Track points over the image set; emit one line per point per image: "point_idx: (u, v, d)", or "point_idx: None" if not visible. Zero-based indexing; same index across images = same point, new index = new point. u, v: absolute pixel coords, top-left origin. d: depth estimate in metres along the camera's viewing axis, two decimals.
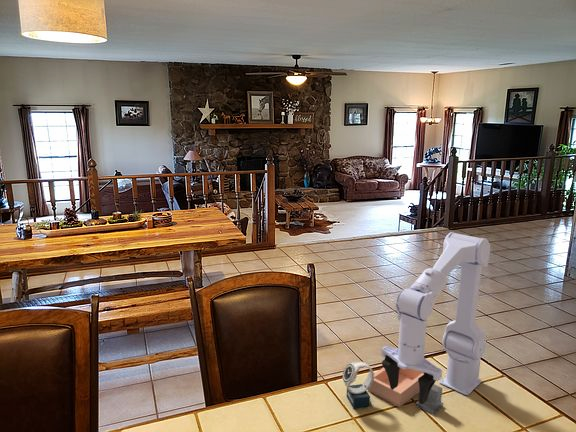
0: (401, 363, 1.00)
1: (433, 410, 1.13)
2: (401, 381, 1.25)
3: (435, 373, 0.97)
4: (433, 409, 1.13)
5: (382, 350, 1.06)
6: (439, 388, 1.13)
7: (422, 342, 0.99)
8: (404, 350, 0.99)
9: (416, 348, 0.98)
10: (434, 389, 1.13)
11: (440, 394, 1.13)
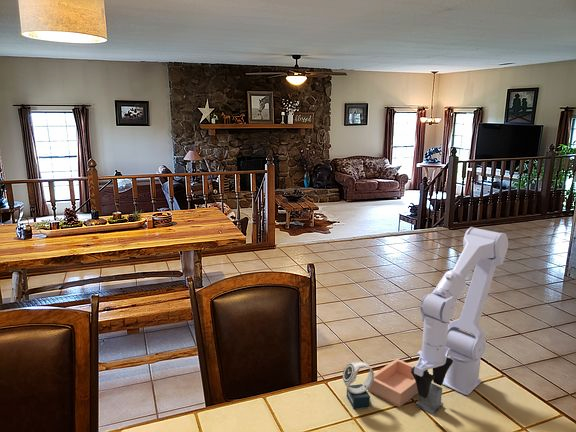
0: (422, 351, 1.15)
1: (433, 410, 1.13)
2: (401, 381, 1.25)
3: None
4: (433, 409, 1.13)
5: None
6: (439, 388, 1.13)
7: (444, 342, 1.09)
8: None
9: (423, 342, 1.11)
10: (434, 389, 1.13)
11: (440, 394, 1.13)
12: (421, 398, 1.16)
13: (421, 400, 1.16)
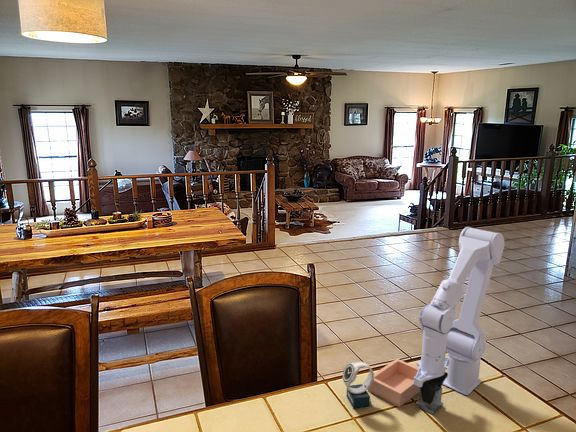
0: (421, 361, 1.16)
1: (433, 410, 1.13)
2: (401, 381, 1.25)
3: None
4: (433, 409, 1.13)
5: None
6: (439, 388, 1.13)
7: (443, 353, 1.10)
8: None
9: (422, 353, 1.12)
10: None
11: (440, 393, 1.13)
12: (421, 398, 1.16)
13: (421, 400, 1.16)
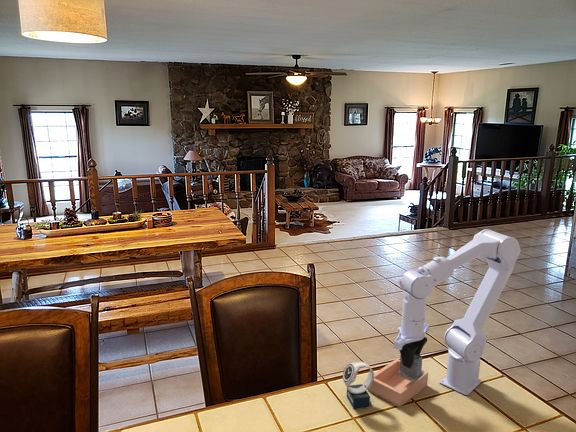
0: None
1: (414, 377, 1.16)
2: (401, 381, 1.25)
3: None
4: (414, 377, 1.16)
5: None
6: (419, 356, 1.17)
7: (418, 318, 1.13)
8: None
9: (402, 318, 1.15)
10: (414, 357, 1.16)
11: (420, 362, 1.17)
12: (402, 367, 1.19)
13: (402, 369, 1.19)
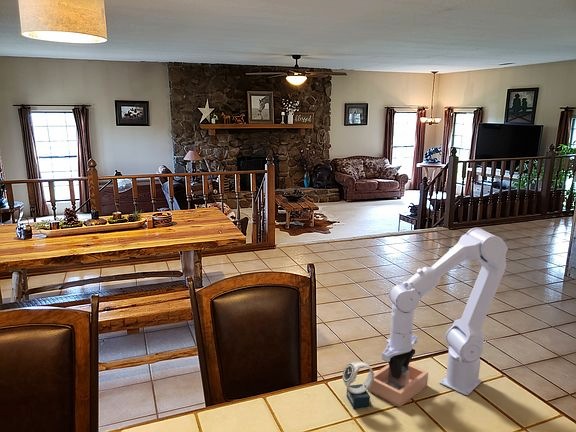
0: None
1: None
2: None
3: None
4: (401, 388, 1.20)
5: None
6: (407, 369, 1.21)
7: (404, 331, 1.17)
8: None
9: (391, 330, 1.19)
10: (402, 370, 1.20)
11: (408, 374, 1.21)
12: (390, 379, 1.23)
13: (390, 380, 1.23)
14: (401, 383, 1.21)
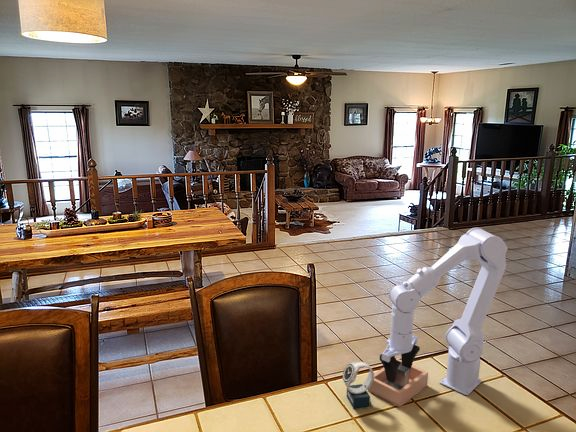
0: None
1: None
2: None
3: None
4: (401, 388, 1.20)
5: None
6: (407, 369, 1.21)
7: (404, 331, 1.17)
8: None
9: (391, 330, 1.19)
10: (402, 370, 1.20)
11: (408, 374, 1.21)
12: None
13: None
14: (401, 383, 1.21)
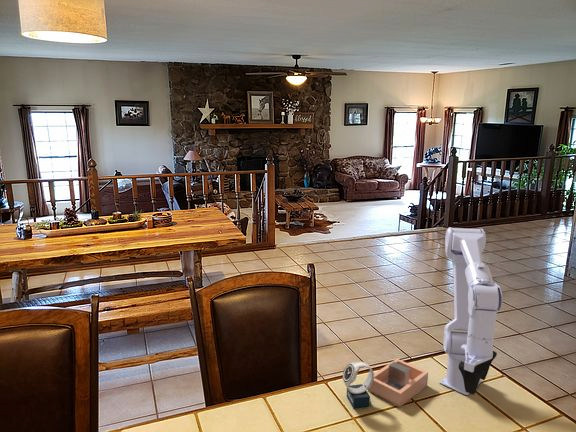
0: (465, 345, 1.09)
1: None
2: None
3: (465, 362, 1.02)
4: (401, 388, 1.20)
5: None
6: (407, 369, 1.21)
7: None
8: None
9: (470, 336, 1.05)
10: (402, 370, 1.20)
11: (408, 374, 1.21)
12: (390, 379, 1.23)
13: (390, 380, 1.23)
14: (401, 383, 1.21)
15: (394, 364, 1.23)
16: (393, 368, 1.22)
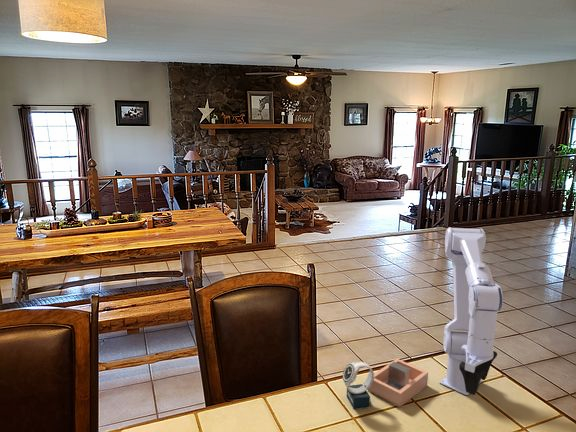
0: (466, 346, 1.09)
1: None
2: None
3: (466, 362, 1.02)
4: (401, 388, 1.20)
5: None
6: (407, 369, 1.21)
7: None
8: None
9: (470, 336, 1.05)
10: (402, 370, 1.20)
11: (408, 374, 1.21)
12: (390, 379, 1.23)
13: (390, 380, 1.23)
14: (401, 383, 1.21)
15: (394, 364, 1.23)
16: (393, 368, 1.22)
